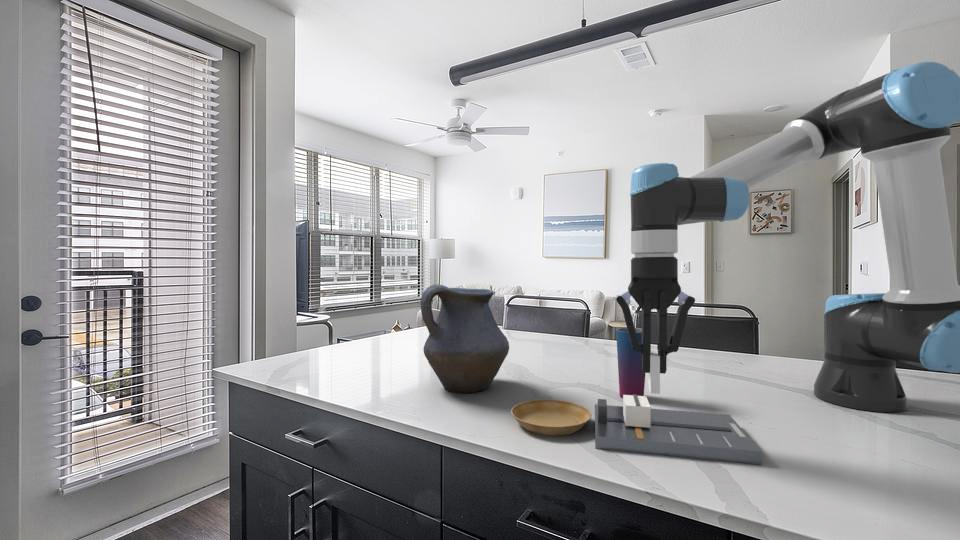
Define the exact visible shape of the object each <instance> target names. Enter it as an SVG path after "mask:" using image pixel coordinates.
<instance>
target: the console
mask: <svg viewBox="0 0 960 540" xmlns="http://www.w3.org/2000/svg"><path fill="white" fill-rule="evenodd" d="M594 440H595V441H594V443H595V446H594V447H595V448H594V449H598V450H609V451H617V452H618V451H619V452H627V453H630V452H631V453H639V454H650V455H659V456H671V457H681V458H688V459H689V458H690V459H700V460H709V461H719V462H729V463H740V464H751V465H759V466H762V463H763V461H762V460H763V459H762V458H763V454H762V453H763V452H762V450H761V449H760V447H759V446H757V444H756V443H755V442H754V441H753V439H751V438H750V436H749V435H748V434H747V432H745V431H744V430H743V428H742V427H741V426H740V425H739V424H738V423H737V422H736V420H735V419H734V418H733V417H732V416H731V415H730V414H725V413H714V412H699V411H687V410H686V411H685V410H676V409H675V410H673V409H661V408H651V423H650V428H647V427H635V426H625V421H624V416H623V405H621V406H620V405H609V404H608V401H607V399H605V398H602V399H601V398H597V404H594Z"/></svg>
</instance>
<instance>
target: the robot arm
mask: <svg viewBox="0 0 960 540" xmlns="http://www.w3.org/2000/svg"><path fill="white" fill-rule="evenodd" d="M958 120H960V75H959V74H958V73H957V72H956V71H955V70H954V69H950V68H949V67H948V66H947V65H946V64H944V63H940V62H935V61H921V62H915V63H913V64H910V65H907V66H904V67H900V68H898V69H894V70H891V71H890V72H888V73H886V74H882V75H881V76H878V77H876V78H874V79H871V80H869V81H867V82H865V83H862V84H860V85H857V86H855V87H853V88H850V89H847V90H845V91H842V92H840V93H838V94H836V95H834V96H833V97H831V98H829V99H827V100H826V101H824V102H822V103H821V104H820V105H818V106H816V107H814V108H813V109H811V110H810V111H808V112H806V113H804V114H803V115H801V116H799V117H797V118H795V119H793V120H791V121H790V122H788V123H787V124H786V125H785V126H784V128H783V129H782V131H780V132H778V133H776V134H774V135H772V136H770V137H768V138H766V139H764V140H762V141H760V142H758V143H756V144H754V145H752V146H750V147H748V148H746V149H743V150H742V151H740V152H738V153H735V154H734V155H733V156H730V157H728V158H726V159H724V160H721V161H720V162H718V163H716V164H714V165H712V166H710V167H708V168H706V169H704V170H703V171H700V172H698V173H696V174H694V175H692V176H690V177H683V176H680V173H679V170H678V166H677V165H675V164H674V163H668V162H660V163H656V162H655V163H649V164H643V165H640V166H638V167H636V168H634V169H633V170H632V172H631V178H630V179H631V180H630V191H629V196H630V221H631V222H630V226H631V227H630V230H631V231H630V253H631V254H632V255H634V257H632V258H631V259H630V283H629V284H628V286H627V290H626V291H625V292H623V293H621V294H618V295H616V297H615V301H616V302H617V304H618V305H619V307H620V309H621V311H622V316H623V319H624V323H625V326H626V327H627V331H628V335H629V338H630V342H631V346H632V348H633V350H635V351H638V352H641V353H642V369H643V371H644V373H645V374H648V390H649V392H650V394H652V395H653V394H655V395H656V394H657V395H660V394H661V374H666V372H667V368H668V367H667V356H668V355H669V354H671V353H677V352H678V351H679V348H680V344H681V341H682V337H683V333H684V330H685V325H686V321H687V318H688V315H689V312H690V309H691V308H692V306H693V305H694V303H695V302H696V298H695V297H693V296H691V295H688V294H687V293H685V292H683V291H682V288H681V285H680V284H679V273H678V270H679V268H678V267H679V265H678V264H679V263H678V261H679V260H678V258H677V257H676V256H675V254H677V253H678V252H679V249H678V248H679V247H678V246H679V243H678V239H679V238H678V235H679V234H678V230H679V229H678V227H679V226H683V225H691V224H692V225H693V224H697V223H706V222H720V223H721V222H726V221H727V222H730V221H731V222H732V221H736V220H739V219H741V218H742V217H743V216H744V214H745V213H746V212H747V209H748V207H749V204H750V190H749V189H752V188H754V187H755V186H758V185H760V184H761V183H764V182H766V181H767V180H768V181H769V180H770V179H771V178H774V177H776V176H777V175H779V174H782V173H783V172H785V171H788V170H789V169H792V168H793V167H796V166H797V165H799V164H800V165H801V164H802V165H803V164H805V165H806V164H808V165H809V164H812V163H814V162H817V161H819V160H820V159H823V158H826V157H828V156H829V157H830V156H832V155H836V154H839V153H844V152H847V151H852V150H857V149H860V151H861V152H860V153H861V157H863V158H865V159H867V160H868V161H870V162H872V163H873V166H874V174H875V179H876V184H877V185H876V187H877V194H878V201H879V208H880V215H881V222H882V229H883V230H882V231H883V238H884V244H885V252H886V259H887V264H888V265H887V266H888V271H889V277H890V278H889V279H890V285H891V286H890V287H891V288H890V289H889V290H888V291H887V292H884V293H882V292H881V293H849V294H835V295H834V294H833V295H830V296H829V297H828V298H826V302H825V311H824V312H823V314H824V315H823V316H824V317H823V318H824V329H823V330H824V338H823V339H824V341H823V342H824V346H823V347H824V358H823V363H822V366H821V368H820V370H819V372H818V374H817V377H816V379H815V381H814V384H813V395H814V397H816V398H818V399H820V400H822V401H824V402H828V403H831V404H834V405H838V406H841V407H846V408H851V409H857V410H862V411H868V412H870V411H871V412H879V413H881V412H882V413H897V412H898V413H899V412H903V411H906V410H907V400H908V398H907V396H906V393H905V391H904V388H903V384H902V383H901V380H900V377H899V375H898V373H897V369H896V367H897V366H896V362H899V363H904V364H908V365H912V366H915V367H920V368H924V369H926V370H930V371H935V372H938V371H941V372H946V373H952V374H960V285H959V284H958V277H957V270H956V269H957V268H956V262H955V254H954V253H955V252H954V247H953V240H952V239H953V238H952V233H951V225H950V217H949V209H948V203H947V196H946V195H947V194H946V189H945V188H946V187H945V179H944V172H943V166H942V157H941V151H940V150H941V149H942V147H943V146H944V145H945V144H946V143H947V142H948V141H949V140H950V139H951V138H952V137H951V135H952V134H951V127H950V126H951V125H953V124H955V122H957V121H958ZM631 297H632V298H633V300H634V301H635V302H636V304H637V305H638V306H639V308H641V328H642V344H640V343H639V342H638V339H637V335H636V331H635V328H636V327H635V324H634V319H633V315H632V311H631V309H630V306H629V305H630V304H631V302H632V301H631ZM676 299H678V300H677V304H678V307H677V310H676V315H675V318H674V322H673V326H672V330H671V333H670V337H669V342H668V309H669V308H670V306H671V305H672V304H673V303H674V302H675V301H676ZM652 310H656V320H657V321H656V322H657V323H656V324H657V325H656V327H657V328H656V329H657V330H656V331H657V332H656V333H657V336H656V338H657V343H656V344H657V352H652V344H651V343H652V341H651V340H652V339H651V338H652V331H651V330H652V329H651V328H652V327H651V326H652V321H651V320H652V317H651V316H652ZM626 327H625V328H626Z"/></svg>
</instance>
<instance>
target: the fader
mask: <svg viewBox="0 0 960 540" xmlns="http://www.w3.org/2000/svg"><path fill="white" fill-rule="evenodd" d="M622 406H623V416H624V421H625V426H635V427H647V428H650V423H651V409H652V408H651V405H650V402H649V400H648V398H647V396H645V395H644V396H637V395H635V394H633V395H623V399H622Z"/></svg>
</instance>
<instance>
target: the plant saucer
mask: <svg viewBox="0 0 960 540" xmlns="http://www.w3.org/2000/svg"><path fill="white" fill-rule="evenodd" d="M510 413H511V414H512V416H513V418H514V419H515V420H516V422H518V424H519V425H520V426H522V427H523V428H524V429H525V430H527V431H529V432H531V433H534V434H537V435H544V436H552V437H553V436H566V435H572V434H574V433H578V431H580V430H581V429H582V428H584V427H585V426H586V424H588V422H589V421H590V420H591V418H592V412H591V411H590V410H589V408H587V407H585V406H583V405H581V404H579V403H575V402H571V401H567V400H559V399H549V398H547V399H533V400H526V401H522V402H520V403H517V404H515V405H514V406H513V407H512V408H511V410H510Z"/></svg>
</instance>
